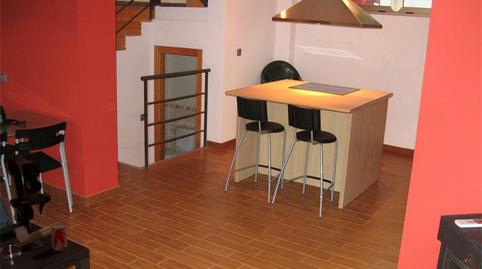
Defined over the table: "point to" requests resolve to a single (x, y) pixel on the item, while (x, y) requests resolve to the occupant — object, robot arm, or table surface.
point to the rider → (22, 234)
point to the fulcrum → (35, 244)
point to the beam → (35, 236)
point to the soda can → (59, 237)
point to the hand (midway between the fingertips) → (31, 216)
